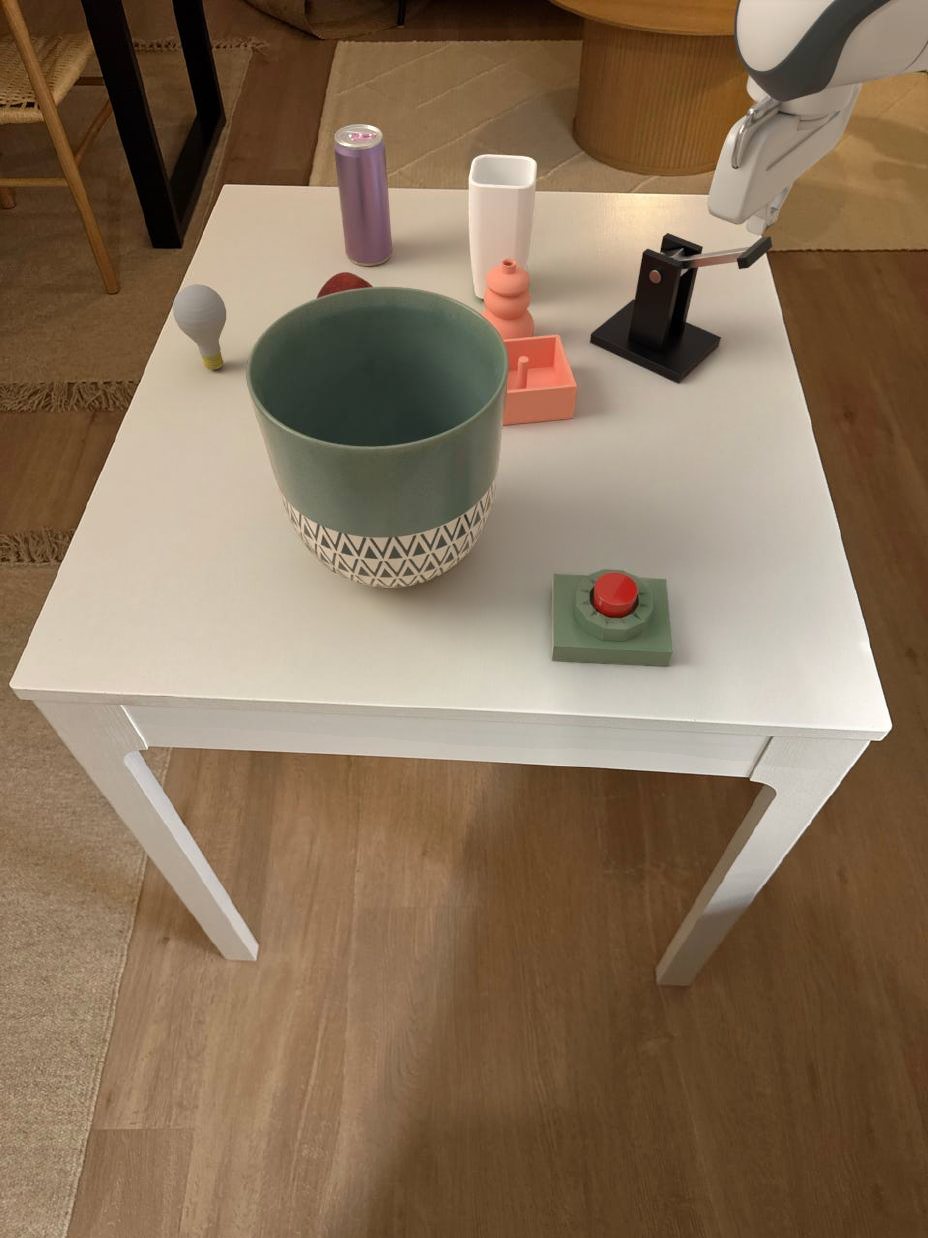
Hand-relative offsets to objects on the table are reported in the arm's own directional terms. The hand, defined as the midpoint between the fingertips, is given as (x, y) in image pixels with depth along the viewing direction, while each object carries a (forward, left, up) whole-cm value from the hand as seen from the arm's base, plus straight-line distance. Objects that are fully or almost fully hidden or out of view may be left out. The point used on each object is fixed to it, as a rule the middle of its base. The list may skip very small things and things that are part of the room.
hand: (760, 227), depth 87 cm
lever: (+2, -4, -6) cm, 8 cm away
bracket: (+4, -8, -17) cm, 19 cm away
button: (+29, +26, -14) cm, 41 cm away
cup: (+16, -25, -18) cm, 34 cm away
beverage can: (+28, -39, -18) cm, 51 cm away
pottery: (+21, -10, -18) cm, 29 cm away
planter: (+43, +10, -18) cm, 47 cm away
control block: (+29, +26, -17) cm, 43 cm away
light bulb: (+52, -24, -18) cm, 60 cm away
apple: (+36, -23, -18) cm, 46 cm away
